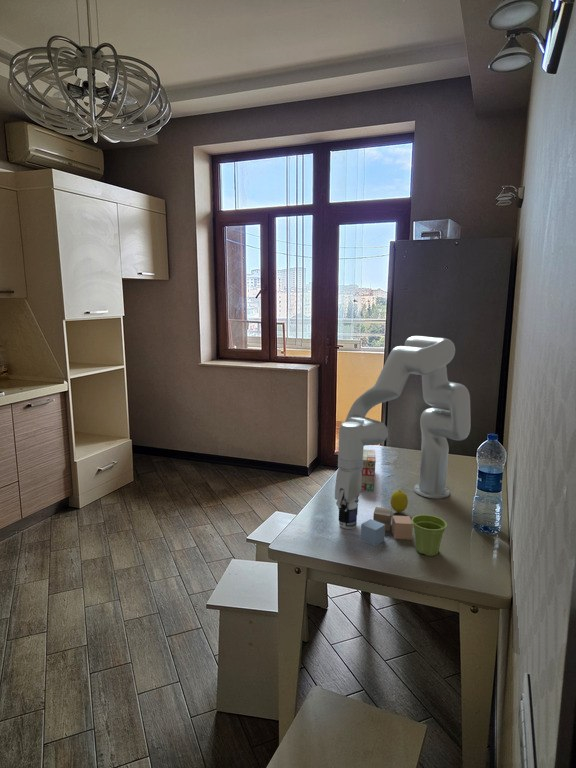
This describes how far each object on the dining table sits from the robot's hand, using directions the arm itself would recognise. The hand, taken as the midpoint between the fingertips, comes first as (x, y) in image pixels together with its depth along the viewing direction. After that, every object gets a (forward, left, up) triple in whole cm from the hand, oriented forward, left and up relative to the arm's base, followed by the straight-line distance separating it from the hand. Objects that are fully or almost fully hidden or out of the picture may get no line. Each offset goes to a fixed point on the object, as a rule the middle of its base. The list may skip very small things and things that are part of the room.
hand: (348, 517), depth 146 cm
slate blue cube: (+4, +10, -3) cm, 11 cm away
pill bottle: (0, 0, -3) cm, 3 cm away
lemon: (-18, +10, -3) cm, 21 cm away
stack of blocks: (-38, -11, -3) cm, 40 cm away
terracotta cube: (-4, +16, -3) cm, 17 cm away
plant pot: (+1, +25, -3) cm, 25 cm away
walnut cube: (-6, +9, -3) cm, 11 cm away
